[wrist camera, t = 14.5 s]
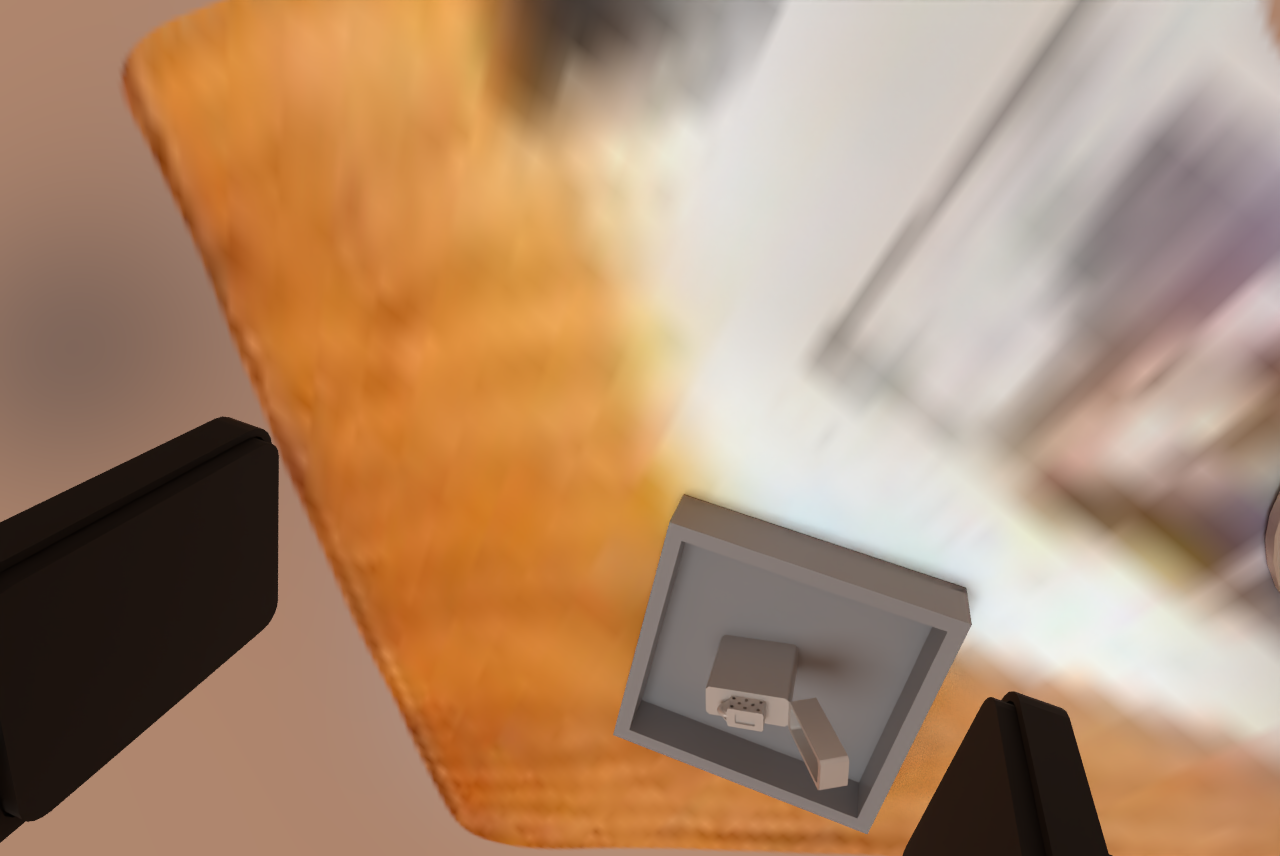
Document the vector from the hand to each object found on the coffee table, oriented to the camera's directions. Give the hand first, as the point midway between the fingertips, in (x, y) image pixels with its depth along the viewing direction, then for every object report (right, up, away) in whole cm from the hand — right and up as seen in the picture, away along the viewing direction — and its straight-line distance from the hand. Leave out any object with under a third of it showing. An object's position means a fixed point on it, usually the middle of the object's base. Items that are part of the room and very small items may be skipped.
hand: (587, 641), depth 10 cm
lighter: (+9, -10, +33) cm, 35 cm away
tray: (+8, -9, +33) cm, 36 cm away
